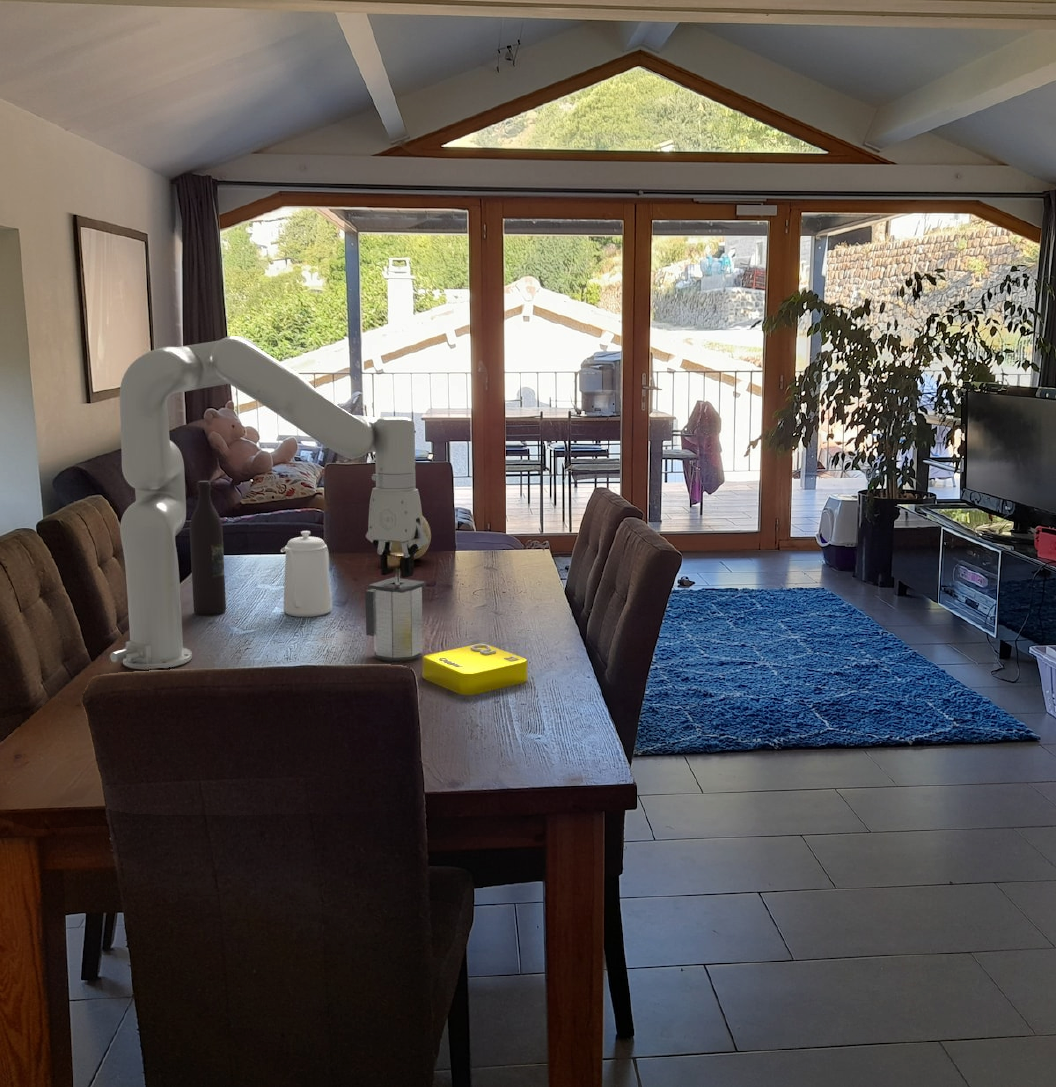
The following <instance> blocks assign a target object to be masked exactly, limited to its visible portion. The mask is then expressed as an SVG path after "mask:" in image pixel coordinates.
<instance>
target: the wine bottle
mask: <svg viewBox="0 0 1056 1087" xmlns="http://www.w3.org/2000/svg"><path fill="white" fill-rule="evenodd" d="M196 484H197V485H196V487H197V490H198V500H197V501H198V502H197V505H196V507H195V509H194V511H193V514H192V515H191V518H190V523H189V541H190V543H189V544H190V561H191V563H190V564H191V583H192V602H193V603H192V604H193V606H192V607H193V613H194V614H195V615H198V616H203V617H209V616H210V617H212V616H218V615H222V614H225V613H226V611H227V606H226V605H227V601H226V600H227V599H226V583H225V582H226V577H225V575H226V574H225V558H224V554H225V553H224V536H223V535H224V534H223V533H224V532H223V524H222V520H221V517H220V515H219V513H218V512H217V510H216V508H215V506H214V505H213V502H212V497H211V489H212V487H211V486H212V484H211V482H210V480H198V481H197V483H196Z"/></svg>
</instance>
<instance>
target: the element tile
mask: <svg viewBox="0 0 1056 1087" xmlns="http://www.w3.org/2000/svg"><path fill="white" fill-rule="evenodd" d="M421 658H422V659H421V661H422V679H425V680H426V681H429V682H431V683H433V684H436V685H438V686H440V687H442V688H445V689H447V690H449V691H452V692H454V693H457V694H459V695H463V696H474V695H480V694H484V693H487V692H491V691H494V690H499V689H503V688H507V687H510V686H511V687H512V686H515V685H519V684H524V683H526V682H527V681H528V673H529V672H528V670H529V669H528V668H529V666H528V664H529V662H528V660H527V659H526V658H524V657H522V656H519V655H517V654H514V653H512V652H509V651H505V650H503V649H500V648H498V647H495V646H493V645H490V644H489V645H488V644H486V643H476V644H472V645H467V646H462V647H458V648H453V649H448V650H443V651H439V652H434V653H429V654H425V655H423V656H422V657H421Z"/></svg>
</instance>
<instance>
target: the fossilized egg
mask: <svg viewBox="0 0 1056 1087" xmlns="http://www.w3.org/2000/svg"><path fill="white" fill-rule="evenodd" d="M422 520H423V532H424V533H425V535H426V537H427V539H428V544H426V545H425V546H423V547H421V548H420V550H419V551H418V552H417V553H416V555H415V556H414V560H417V559H418V558H420V557H422V556H423V555H424V554H425V553H426V552H427V550H428V549H429V546H430V544H431V539H432V532H431V527H430V524H429V523H428V521H427V520H426V518H425V517H424V515H423V514H422ZM414 541H415V543H416V542H417V541H418V539H417V540H414ZM408 546H409V545H408ZM390 553H403V550H402V544H401V543H400V542H392V544H391V551H390Z"/></svg>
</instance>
